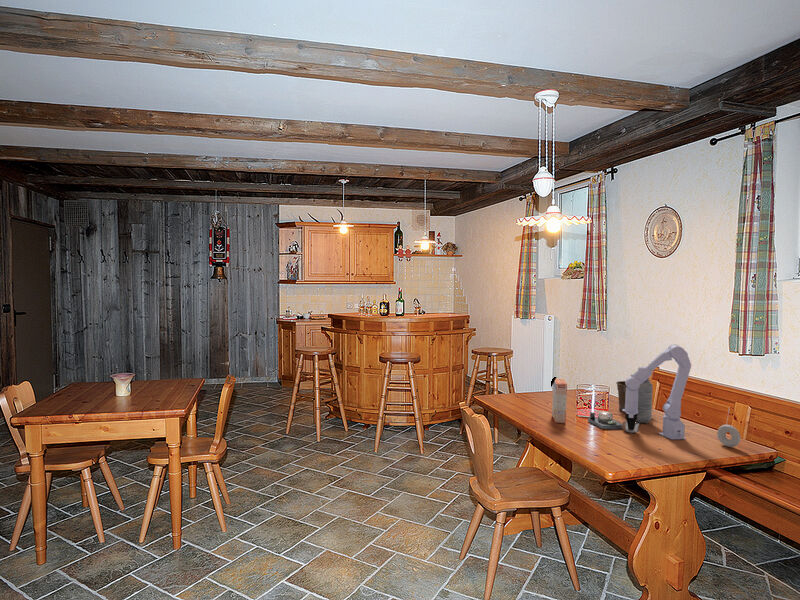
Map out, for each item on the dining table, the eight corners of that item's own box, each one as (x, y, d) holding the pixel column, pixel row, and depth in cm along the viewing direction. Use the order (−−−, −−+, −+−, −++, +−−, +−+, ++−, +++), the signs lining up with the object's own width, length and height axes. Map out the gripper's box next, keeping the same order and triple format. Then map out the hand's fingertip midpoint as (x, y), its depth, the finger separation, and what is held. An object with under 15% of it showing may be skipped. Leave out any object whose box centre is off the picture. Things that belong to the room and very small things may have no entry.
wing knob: (639, 431, 248) (640, 421, 248) (635, 434, 244) (636, 423, 244) (625, 428, 253) (625, 418, 253) (621, 430, 249) (621, 420, 249)
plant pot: (620, 406, 300) (620, 379, 299) (649, 411, 290) (650, 383, 289) (611, 411, 287) (612, 383, 287) (642, 416, 277) (643, 387, 277)
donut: (741, 449, 225) (742, 427, 224) (736, 450, 223) (737, 428, 223) (719, 442, 234) (720, 421, 233) (714, 443, 232) (715, 422, 232)
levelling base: (624, 428, 254) (625, 417, 253) (602, 429, 252) (602, 417, 252) (609, 421, 267) (609, 410, 267) (588, 421, 266) (588, 410, 265)
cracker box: (566, 423, 261) (567, 384, 260) (554, 423, 262) (555, 383, 262) (563, 416, 275) (564, 378, 274) (551, 416, 276) (552, 378, 275)
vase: (646, 418, 273) (647, 377, 272) (655, 425, 261) (656, 381, 260) (624, 418, 274) (625, 376, 273) (631, 424, 263) (633, 380, 262)
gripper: (623, 397, 256) (622, 424, 257) (622, 403, 243) (621, 431, 244) (638, 399, 253) (637, 425, 254) (638, 405, 240) (637, 433, 241)
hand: (630, 428), depth 249 cm, fingers closed on wing knob, 3 cm apart
